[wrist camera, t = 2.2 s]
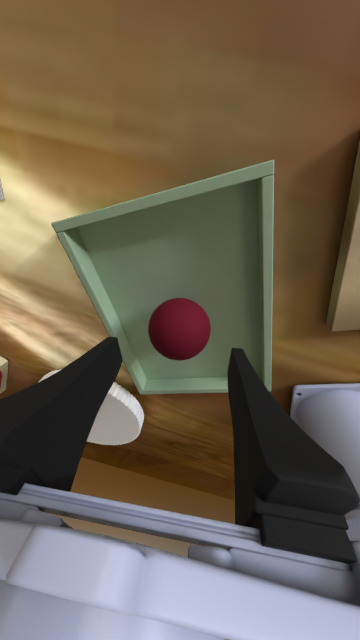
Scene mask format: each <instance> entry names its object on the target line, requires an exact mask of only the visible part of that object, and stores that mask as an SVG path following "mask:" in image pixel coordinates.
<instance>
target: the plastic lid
mask: <svg viewBox="0 0 360 640" xmlns="http://www.w3.org/2000/svg"><path fill="white" fill-rule="evenodd" d="M60 370H61V369H59V370H55V371H51V372H49V373H48V374H46V375H45V376H43V377H42V378H41V380H40V381H42V380H44V379H46V378H48V377H49V376H51V375H53V374H55V373H57V372H58V371H60ZM40 381H39V382H40ZM143 420H144V413H143V410H142V407H140V404H139V403H138V400H136V398H135V397H133V395H132V394H130V392H129V391H126V389H125V388H122V386H121V385H118V384H117V383H116V382H113V384H112V386H111V388H110V390H109V392H108V394H107V396H106V398H105V399H104V401H103V403H102V405H101V407H100V409H99V411H98V414H97V416H96V418H95V421H94V423H93V426H92V428H91V431H90V434H89V436H88V439H87V442H91V443H96V444H104V445H117V444H118V445H120V444H124V443H125V444H127V443H129V442H132V440H134V439H136V437H138V435H139V433H140V431H141V427H142V424H143Z"/></svg>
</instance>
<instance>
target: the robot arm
mask: <svg viewBox="0 0 360 640" xmlns="http://www.w3.org/2000/svg"><path fill="white" fill-rule="evenodd" d="M122 361H123V360H122V355H121V351H120V347H119V342H118V338H117V337H107V338H106V339H104V340H103V341H102V342H100V343H99V344H97V345H96V346H95V347H93V348H92V349H91V350H89V351H88V352H87V353H85V354H84V355H82V356H81V357H80V358H78V359H77V360H75V361H74V362H72V363H71V364H69V365H68V366H66V367H65V368H63V369H61V370H60V371H58V372H57V373H55V374H53V375H51V376H49V377H48V378H46V379H44V380H42V381H40V382H38V383H36V384H34V385H32V386H30V387H28V388H26V389H24V390H22V391H19V392H17V393H15V394H13V395H10V396H8V397H6V398H3V399H1V400H0V640H225V638H226V639H230V640H360V383H353V384H318V385H296V386H294V387H293V390H292V400H291V410H290V416H289V415H288V414H287V413H286V412H285V411H284V409H283V408H282V407H281V406H280V405H279V404H278V402H277V401H276V400H275V399H274V397H273V396H272V395H271V393H270V392H269V391H268V389H267V388H266V387H265V385H264V384H263V382H262V381H261V379H260V378H259V376H258V375H257V373H256V372H255V370H254V368H253V367H252V365H251V363H250V361H249V360H248V358H247V356H246V354H245V352H244V350H243V349H241V348H232V349H231V355H230V360H229V366H228V371H227V374H228V393H229V401H230V408H231V416H232V423H233V437H234V466H235V524H231V523H226V522H221V521H216V520H211V519H205V518H200V517H195V516H190V515H185V514H180V513H175V512H170V511H164V510H159V509H154V508H149V507H144V506H139V505H134V504H129V503H124V502H119V501H113V500H108V499H103V498H98V497H93V496H88V495H83V494H77V493H72V492H69V491H70V490H71V487H72V483H73V480H74V477H75V474H76V471H77V468H78V464H79V461H80V458H81V456H82V453H83V450H84V447H85V444H86V442H87V439H88V436H89V434H90V431H91V428H92V426H93V423H94V421H95V418H96V416H97V414H98V411H99V409H100V407H101V405H102V403H103V401H104V399H105V398H106V396H107V394H108V392H109V390H110V388H111V386H112V384H113V382H114V380H115V379H116V377H117V375H118V372H119V369H120V367H121V364H122ZM44 512H47V513H52V514H56V515H61V516H66V517H70V518H75V519H80V520H84V521H89V522H94V523H99V524H103V525H108V526H113V527H117V528H122V529H127V530H132V531H136V532H141V533H146V534H151V535H155V536H160V537H164V538H169V539H174V540H179V541H183V542H188V543H193V544H198V545H202V546H195V545H190V547H189V548H188V558H187V557H184V556H180V555H177V554H173V553H170V552H166V551H163V550H159V549H156V548H152V547H148V546H145V545H141V544H138V543H134V542H130V541H127V540H122V539H119V538H114V537H110V536H106V535H101V534H96V533H92V532H87V531H82V530H77V529H73V528H72V527H70V526H68V525H67V524H66V523H64V522H63V520H62V519H61V518H59V517H56V516H53V515H50V514H47V513H44ZM228 551H229V552H228Z"/></svg>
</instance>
